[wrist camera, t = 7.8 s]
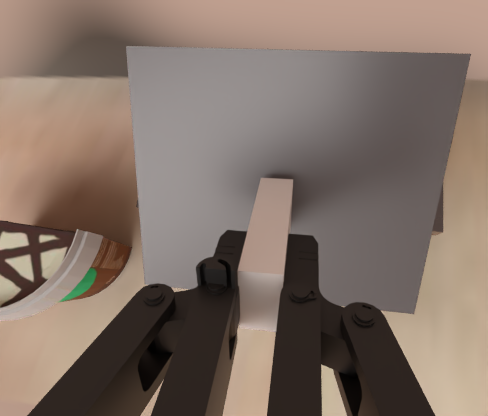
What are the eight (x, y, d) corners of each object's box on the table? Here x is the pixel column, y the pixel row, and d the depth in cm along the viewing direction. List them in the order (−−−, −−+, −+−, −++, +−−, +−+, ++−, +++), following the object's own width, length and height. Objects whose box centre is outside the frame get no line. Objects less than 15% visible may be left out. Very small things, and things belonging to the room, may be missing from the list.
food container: (-6, 300, 32) (-132, 303, 23) (14, 228, 34) (-97, 201, 24) (132, 326, 31) (59, 342, 21) (148, 249, 32) (86, 230, 22)
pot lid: (463, 54, 16) (470, 53, 16) (410, 305, 21) (414, 314, 20) (133, 46, 18) (126, 46, 18) (150, 276, 23) (145, 284, 22)
